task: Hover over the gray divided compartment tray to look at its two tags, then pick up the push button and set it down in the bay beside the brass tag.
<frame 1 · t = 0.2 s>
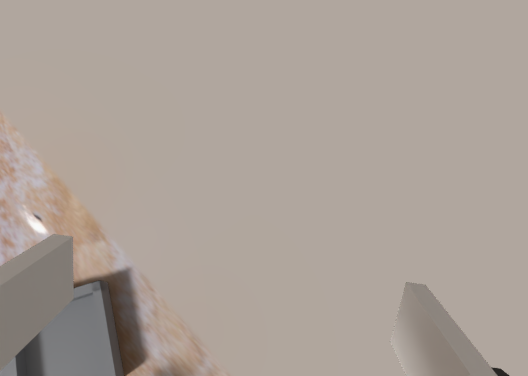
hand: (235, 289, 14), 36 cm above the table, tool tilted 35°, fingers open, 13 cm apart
gray divided compartment tray: (25, 357, 43), on the table
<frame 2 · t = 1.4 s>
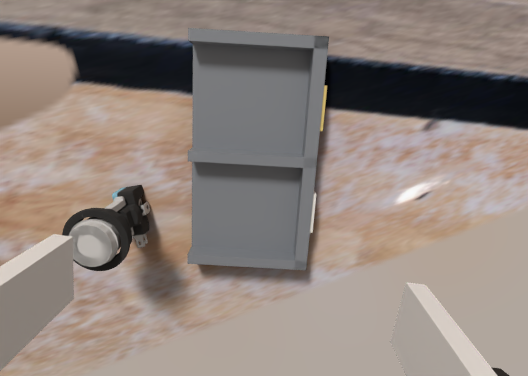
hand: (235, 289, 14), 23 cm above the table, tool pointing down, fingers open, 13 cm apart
gray divided compartment tray: (253, 154, 35), on the table
push button: (138, 212, 37), on the table
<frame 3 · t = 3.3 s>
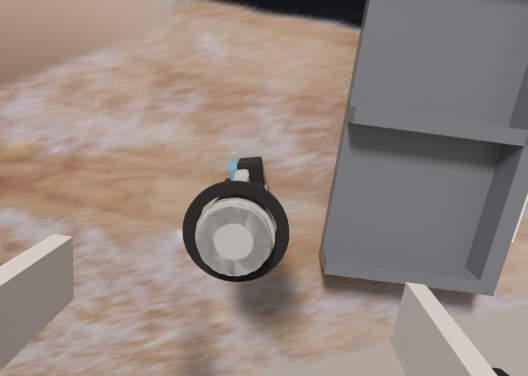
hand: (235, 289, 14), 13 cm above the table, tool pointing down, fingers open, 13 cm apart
gray divided compartment tray: (429, 124, 24), on the table
push button: (249, 195, 26), on the table
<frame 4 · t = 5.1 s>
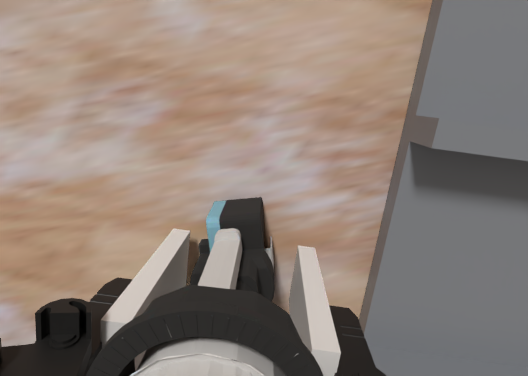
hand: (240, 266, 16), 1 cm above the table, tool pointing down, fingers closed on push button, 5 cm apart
push button: (242, 257, 16), on the table, touching gripper
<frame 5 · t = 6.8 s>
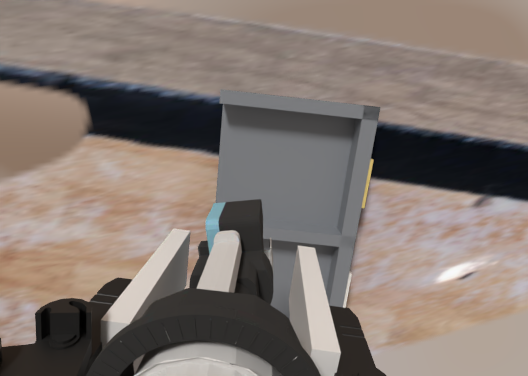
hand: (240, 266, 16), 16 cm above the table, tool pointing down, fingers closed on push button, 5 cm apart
gray divided compartment tray: (281, 222, 32), on the table
push button: (241, 258, 16), point 15 cm above the table, touching gripper
when the fingers open (3 cm above the table, at t = 8.7 s): push button stays where it is, resting on gray divided compartment tray.
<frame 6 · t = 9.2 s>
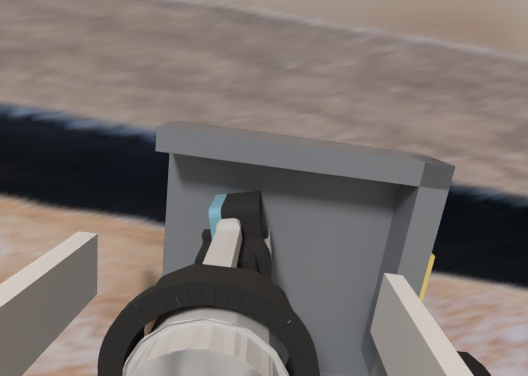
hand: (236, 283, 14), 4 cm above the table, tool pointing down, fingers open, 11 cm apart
gray divided compartment tray: (270, 332, 20), on the table
push button: (242, 248, 17), point 1 cm above the table, touching gray divided compartment tray
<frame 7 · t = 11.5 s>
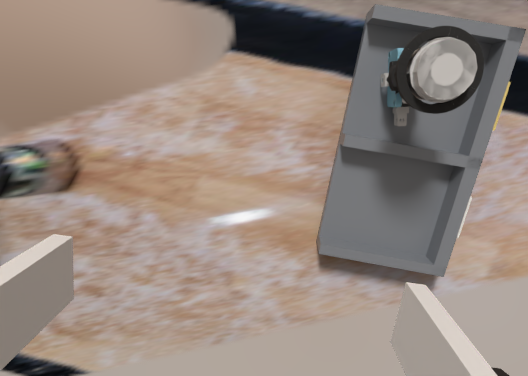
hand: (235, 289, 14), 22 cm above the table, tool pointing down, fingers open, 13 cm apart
gray divided compartment tray: (401, 147, 33), on the table
push button: (396, 87, 31), point 1 cm above the table, touching gray divided compartment tray
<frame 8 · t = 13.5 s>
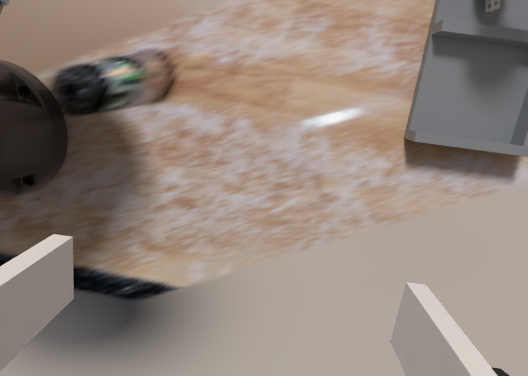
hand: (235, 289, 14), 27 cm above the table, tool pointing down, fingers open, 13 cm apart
gray divided compartment tray: (487, 38, 35), on the table
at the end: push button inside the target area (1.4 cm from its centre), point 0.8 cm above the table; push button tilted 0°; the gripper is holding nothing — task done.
